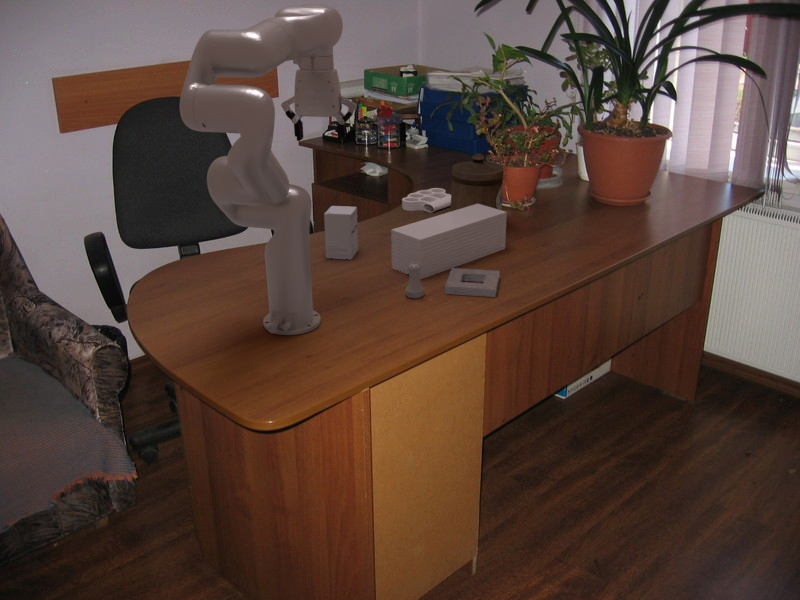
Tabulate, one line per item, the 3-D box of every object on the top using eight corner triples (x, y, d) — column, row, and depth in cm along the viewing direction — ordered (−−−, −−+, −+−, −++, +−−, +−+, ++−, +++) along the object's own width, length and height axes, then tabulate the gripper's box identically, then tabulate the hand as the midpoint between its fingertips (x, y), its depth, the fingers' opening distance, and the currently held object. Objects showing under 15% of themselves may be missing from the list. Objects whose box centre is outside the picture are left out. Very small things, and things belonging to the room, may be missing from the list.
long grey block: (420, 280, 205) (420, 239, 200) (391, 269, 212) (391, 229, 208) (505, 249, 224) (506, 211, 220) (476, 240, 232) (477, 203, 227)
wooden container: (510, 232, 237) (513, 157, 228) (463, 239, 232) (465, 162, 223) (486, 217, 249) (489, 145, 241) (442, 223, 245) (442, 150, 236)
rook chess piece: (413, 290, 198) (412, 259, 195) (427, 294, 196) (427, 263, 193) (401, 296, 195) (401, 264, 192) (416, 300, 193) (416, 269, 189)
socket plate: (495, 297, 194) (495, 289, 193) (444, 294, 196) (445, 286, 195) (499, 278, 205) (499, 270, 204) (451, 275, 207) (451, 267, 206)
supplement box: (352, 260, 217) (350, 214, 212) (325, 258, 219) (323, 213, 214) (359, 250, 224) (357, 206, 219) (332, 249, 225) (330, 204, 220)
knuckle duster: (427, 217, 252) (392, 207, 261) (463, 203, 264) (428, 195, 273) (427, 206, 250) (391, 197, 259) (463, 193, 263) (428, 185, 272)
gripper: (273, 65, 180) (279, 143, 187) (351, 66, 177) (353, 145, 184) (283, 60, 186) (288, 135, 193) (358, 61, 184) (360, 137, 191)
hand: (320, 140), depth 189 cm, fingers open, 9 cm apart
